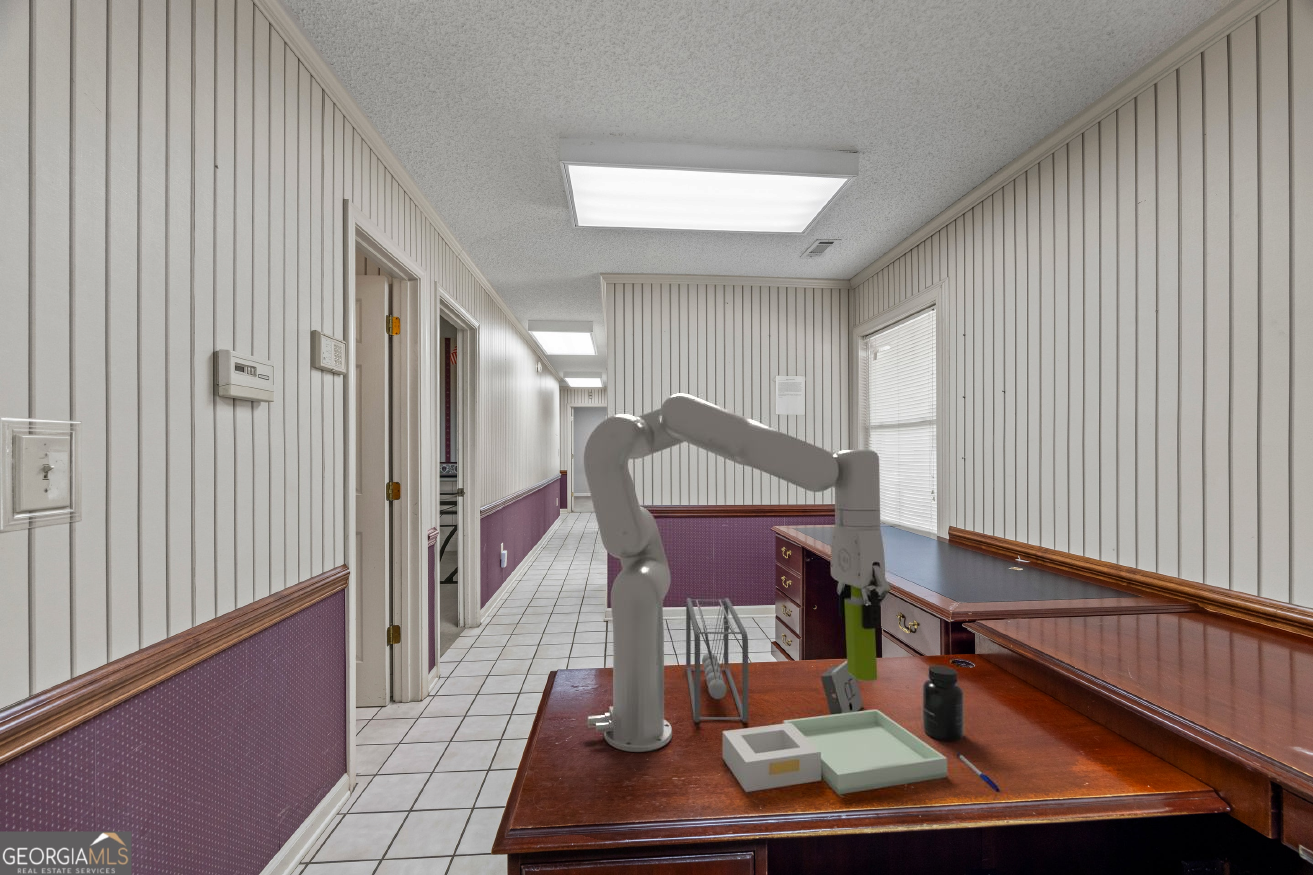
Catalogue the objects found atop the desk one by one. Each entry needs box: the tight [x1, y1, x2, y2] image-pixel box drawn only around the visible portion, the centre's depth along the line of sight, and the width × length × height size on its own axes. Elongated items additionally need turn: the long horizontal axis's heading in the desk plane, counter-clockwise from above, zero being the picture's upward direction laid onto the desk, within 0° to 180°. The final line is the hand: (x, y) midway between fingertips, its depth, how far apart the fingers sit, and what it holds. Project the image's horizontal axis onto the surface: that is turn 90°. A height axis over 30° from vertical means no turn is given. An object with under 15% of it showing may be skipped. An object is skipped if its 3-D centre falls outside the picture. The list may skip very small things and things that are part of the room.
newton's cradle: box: [685, 597, 749, 724], centre depth 121 cm, size 30×10×18 cm, turn 0°
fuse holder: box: [722, 723, 822, 793], centre depth 91 cm, size 13×10×4 cm
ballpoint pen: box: [957, 753, 1000, 792], centre depth 90 cm, size 10×1×1 cm, turn 4°
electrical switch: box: [820, 659, 864, 715], centre depth 113 cm, size 9×5×9 cm, turn 141°
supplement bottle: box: [922, 664, 965, 743], centre depth 103 cm, size 7×7×12 cm
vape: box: [844, 583, 878, 682], centre depth 96 cm, size 4×6×20 cm, turn 3°
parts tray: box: [782, 709, 948, 796], centre depth 95 cm, size 20×18×3 cm
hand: (859, 621), depth 96 cm, fingers closed on vape, 6 cm apart
